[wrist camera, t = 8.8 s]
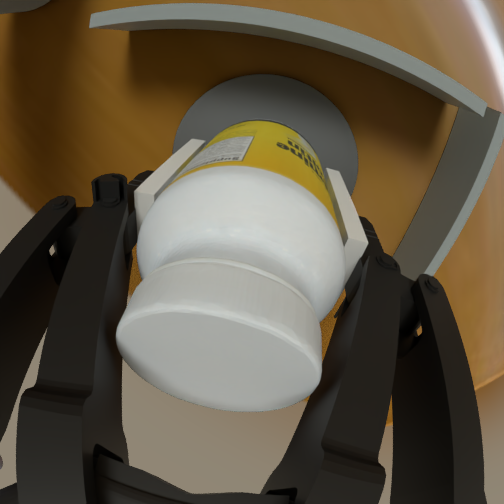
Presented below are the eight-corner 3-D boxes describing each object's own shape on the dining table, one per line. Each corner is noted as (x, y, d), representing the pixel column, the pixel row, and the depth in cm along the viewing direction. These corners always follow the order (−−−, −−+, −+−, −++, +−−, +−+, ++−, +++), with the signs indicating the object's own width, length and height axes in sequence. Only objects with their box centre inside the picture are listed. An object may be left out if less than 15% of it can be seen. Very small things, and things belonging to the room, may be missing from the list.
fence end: (383, 271, 19) (396, 311, 16) (462, 98, 11) (500, 112, 8) (392, 273, 19) (405, 312, 16) (470, 104, 11) (509, 119, 8)
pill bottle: (318, 224, 16) (335, 424, 7) (211, 224, 17) (142, 405, 8) (321, 115, 12) (414, 269, 3) (195, 120, 13) (32, 260, 4)
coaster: (171, 223, 19) (169, 226, 19) (185, 62, 12) (183, 62, 12) (323, 257, 19) (323, 260, 19) (380, 106, 13) (382, 107, 12)
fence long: (129, 30, 11) (89, 28, 8) (131, 19, 10) (91, 13, 7) (445, 102, 11) (483, 117, 8) (448, 91, 11) (487, 103, 8)
